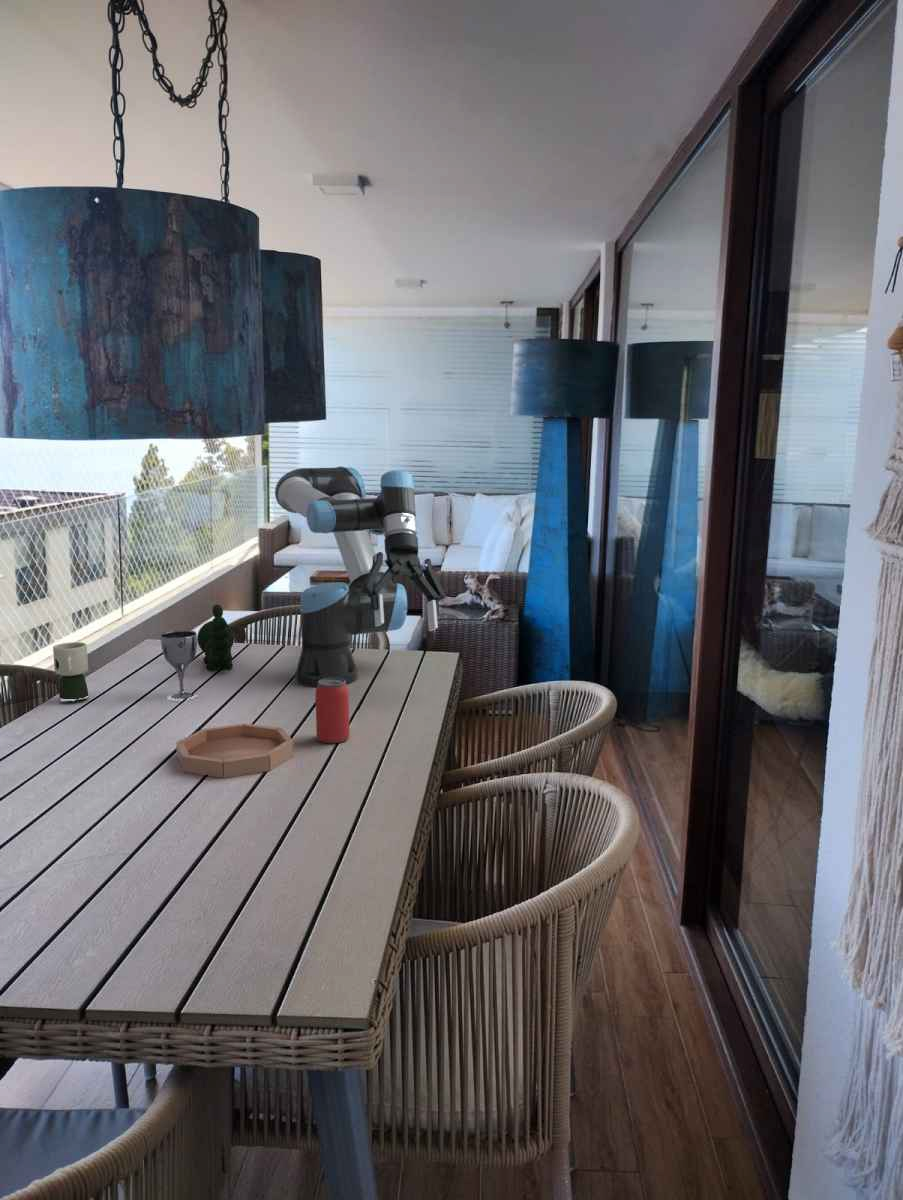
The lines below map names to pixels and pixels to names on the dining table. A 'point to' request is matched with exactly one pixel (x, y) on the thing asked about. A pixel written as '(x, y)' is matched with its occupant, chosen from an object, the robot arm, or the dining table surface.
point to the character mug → (71, 669)
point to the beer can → (332, 710)
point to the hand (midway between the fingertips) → (406, 627)
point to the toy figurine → (216, 641)
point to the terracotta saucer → (234, 750)
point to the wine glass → (179, 654)
